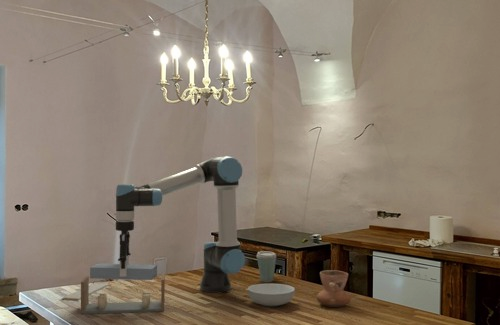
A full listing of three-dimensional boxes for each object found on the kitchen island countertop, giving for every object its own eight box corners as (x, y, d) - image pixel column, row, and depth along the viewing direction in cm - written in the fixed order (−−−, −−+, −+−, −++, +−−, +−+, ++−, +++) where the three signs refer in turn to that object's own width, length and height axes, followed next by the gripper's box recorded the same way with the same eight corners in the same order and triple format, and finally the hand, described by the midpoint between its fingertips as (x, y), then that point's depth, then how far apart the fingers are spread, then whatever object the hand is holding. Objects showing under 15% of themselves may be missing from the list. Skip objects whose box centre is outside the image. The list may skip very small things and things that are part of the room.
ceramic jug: (348, 311, 215) (349, 277, 215) (314, 308, 219) (314, 274, 219) (351, 301, 232) (352, 269, 233) (319, 298, 236) (320, 267, 236)
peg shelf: (85, 306, 221) (85, 275, 221) (164, 303, 226) (164, 273, 226) (80, 314, 209) (80, 282, 209) (164, 311, 214) (164, 279, 214)
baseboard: (58, 300, 232) (78, 302, 230) (58, 294, 232) (78, 295, 230) (91, 285, 261) (109, 286, 259) (91, 279, 261) (109, 280, 259)
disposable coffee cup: (280, 280, 272) (280, 252, 272) (267, 284, 264) (268, 254, 264) (265, 277, 279) (265, 250, 279) (252, 281, 270) (252, 252, 270)
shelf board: (97, 273, 223) (98, 263, 223) (157, 275, 221) (157, 264, 221) (90, 278, 214) (90, 267, 214) (151, 280, 212) (151, 269, 212)
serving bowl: (299, 300, 233) (299, 285, 233) (287, 312, 213) (287, 295, 213) (256, 296, 240) (256, 281, 240) (240, 307, 220) (240, 291, 220)
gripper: (118, 218, 228) (118, 268, 228) (112, 223, 206) (112, 279, 206) (135, 218, 229) (135, 268, 229) (131, 223, 207) (131, 279, 207)
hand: (124, 273), depth 217 cm, fingers closed on shelf board, 10 cm apart
